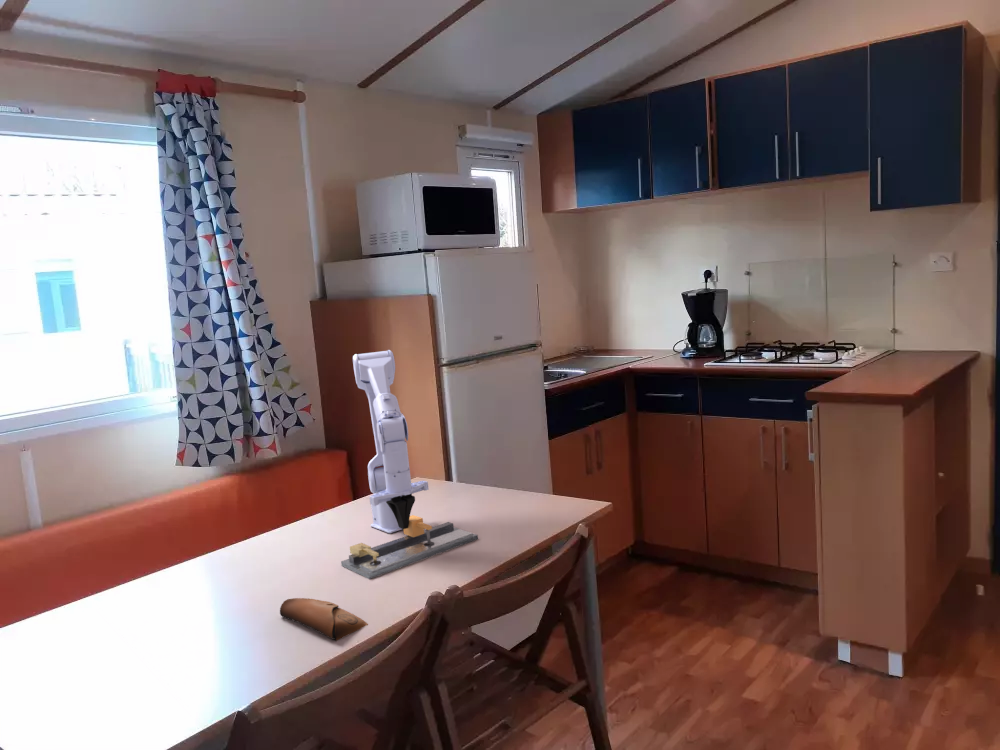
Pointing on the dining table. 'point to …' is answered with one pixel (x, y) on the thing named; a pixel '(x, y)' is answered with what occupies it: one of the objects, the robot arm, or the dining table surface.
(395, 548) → the board
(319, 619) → the sunglasses case
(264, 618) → the dining table surface
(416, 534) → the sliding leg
